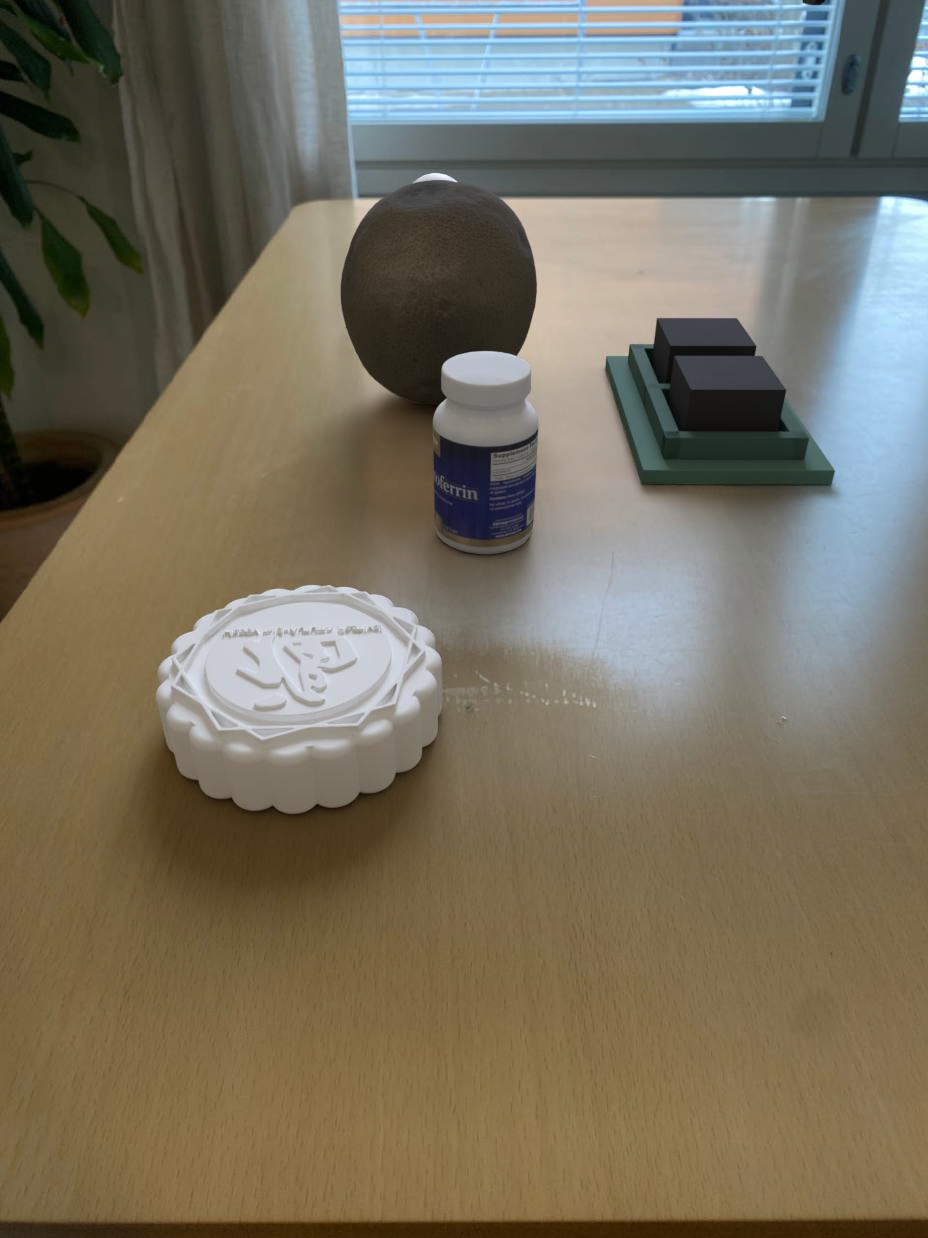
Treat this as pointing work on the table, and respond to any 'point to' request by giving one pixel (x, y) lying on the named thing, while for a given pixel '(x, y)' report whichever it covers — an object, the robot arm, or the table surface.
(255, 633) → the mooncake
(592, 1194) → the table surface
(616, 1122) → the table surface
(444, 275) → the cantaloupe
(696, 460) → the base mat
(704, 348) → the black square block
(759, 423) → the pad
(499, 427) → the pill bottle
